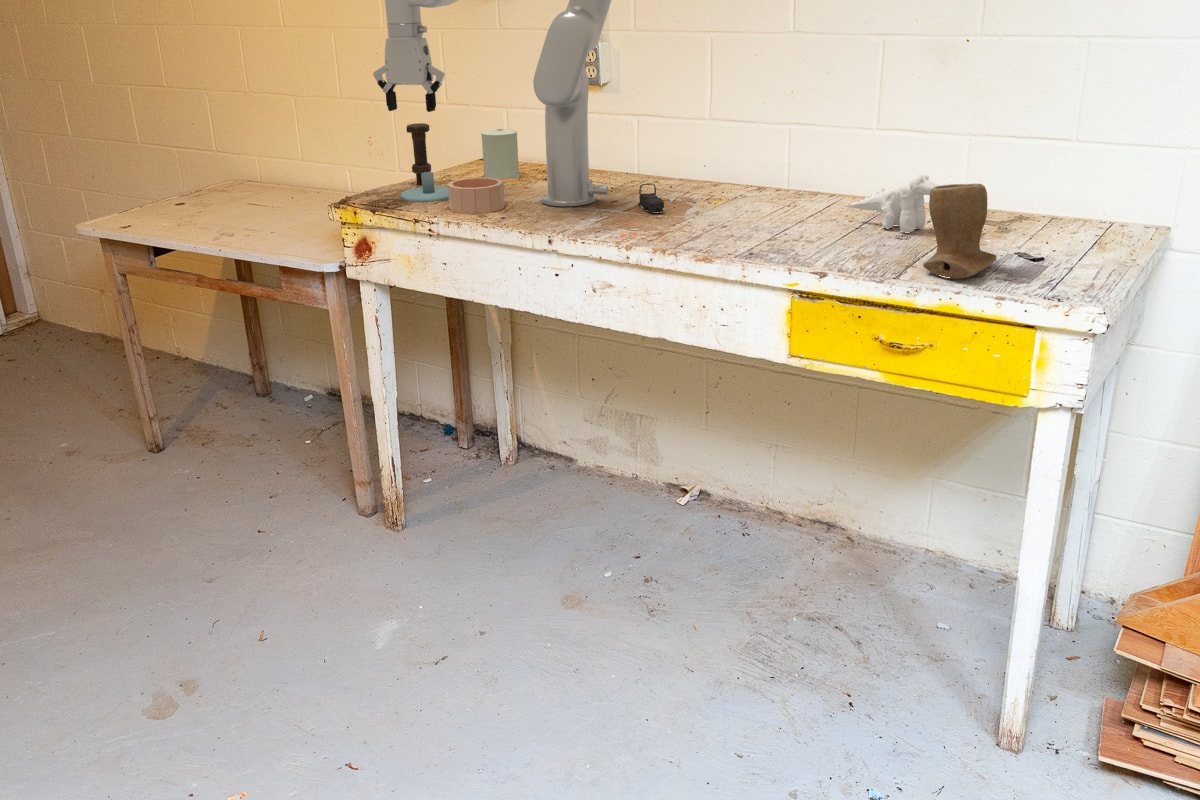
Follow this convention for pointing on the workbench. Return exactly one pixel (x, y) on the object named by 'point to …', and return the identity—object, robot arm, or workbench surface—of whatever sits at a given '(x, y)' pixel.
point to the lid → (426, 191)
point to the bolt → (419, 149)
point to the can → (500, 153)
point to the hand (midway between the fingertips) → (411, 110)
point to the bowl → (476, 195)
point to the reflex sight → (650, 201)
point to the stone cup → (958, 230)
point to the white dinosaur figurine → (900, 204)
